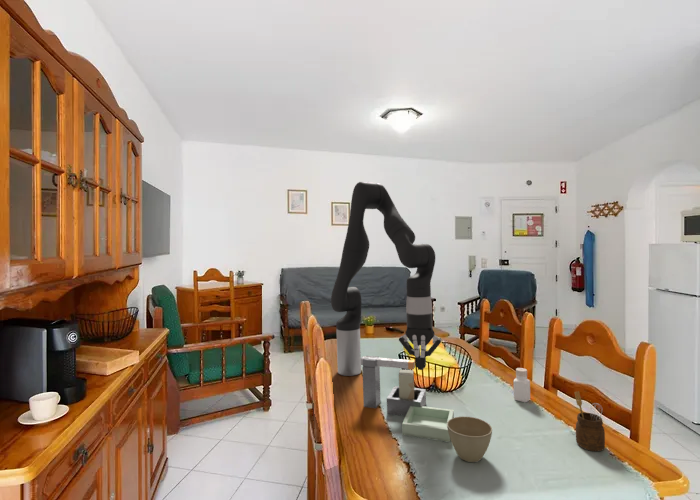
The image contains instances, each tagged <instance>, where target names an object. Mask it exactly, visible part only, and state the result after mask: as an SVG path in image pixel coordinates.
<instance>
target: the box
mask: <svg viewBox="0 0 700 500" xmlns="http://www.w3.org/2000/svg"><path fill="white" fill-rule="evenodd" d="M414 376H415V375H414V369H400V370H399V371H398V387H399V398H403V399H412V400H414V388H415V377H414Z"/></svg>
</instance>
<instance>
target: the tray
mask: <svg viewBox="0 0 700 500" xmlns="http://www.w3.org/2000/svg"><path fill="white" fill-rule="evenodd" d="M454 411H455V410H454V409H449V408H440V407H433V406H426V405H425V406H421V407H413V406H410V408H409V410H408V412H407V415H406V416H404V419H403V420H402V421H403V422H402V423H401V424H402V425H401V426H402V428H401V429H402V436H405V437H406V436H407V437H411V438H412V437H414V438H419V439H420V438H421V439H427V440H435V441H440V442H446V443H447V442H448V443H451V440H450V436H449V433H448V428H447V422H448V421H449V420H450V419H452V418H455V413H454Z"/></svg>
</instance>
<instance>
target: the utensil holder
mask: <svg viewBox="0 0 700 500" xmlns="http://www.w3.org/2000/svg"><path fill="white" fill-rule="evenodd" d="M574 396H575V402H576V405H577V406H578V407H579V411H580V412H579V413H577V417H576V419H577V421H576V422H575V441H576V444H577V445H578V446H579V447H580V448H582V449H584V450H587V451H590V452H601V451H602V452H603V451H604V450H605V446H606V433H605V427H604V425H603V424H604V421H603V418H602V413H603V408H602V405H601V404H600V403H597V402H593V403H592V404H591V406H590V411H589V412H583V409H582V405H583V401H582V397H581V394H580V391H574ZM593 405H594V408H593ZM596 406H599V408H598V411H597V413H596V414H595V408H597V407H596ZM592 409H593V410H592ZM600 409H601V410H600ZM592 411H593V412H592ZM599 411H601V412H600V416H599Z"/></svg>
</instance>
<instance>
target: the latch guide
mask: <svg viewBox="0 0 700 500" xmlns="http://www.w3.org/2000/svg"><path fill="white" fill-rule="evenodd" d="M365 357H377V358H380V357H379V356H374V355H366V356H365ZM380 367H381V366H376V360H370V359H363V365H362V366H361V369H362V392H363V395H362V396H363V397H362V399H363V407H364V408H369V409H377V408H378V407H379V404H380V403H381V375H380V373H381V372H380V371H381V370H380Z"/></svg>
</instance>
